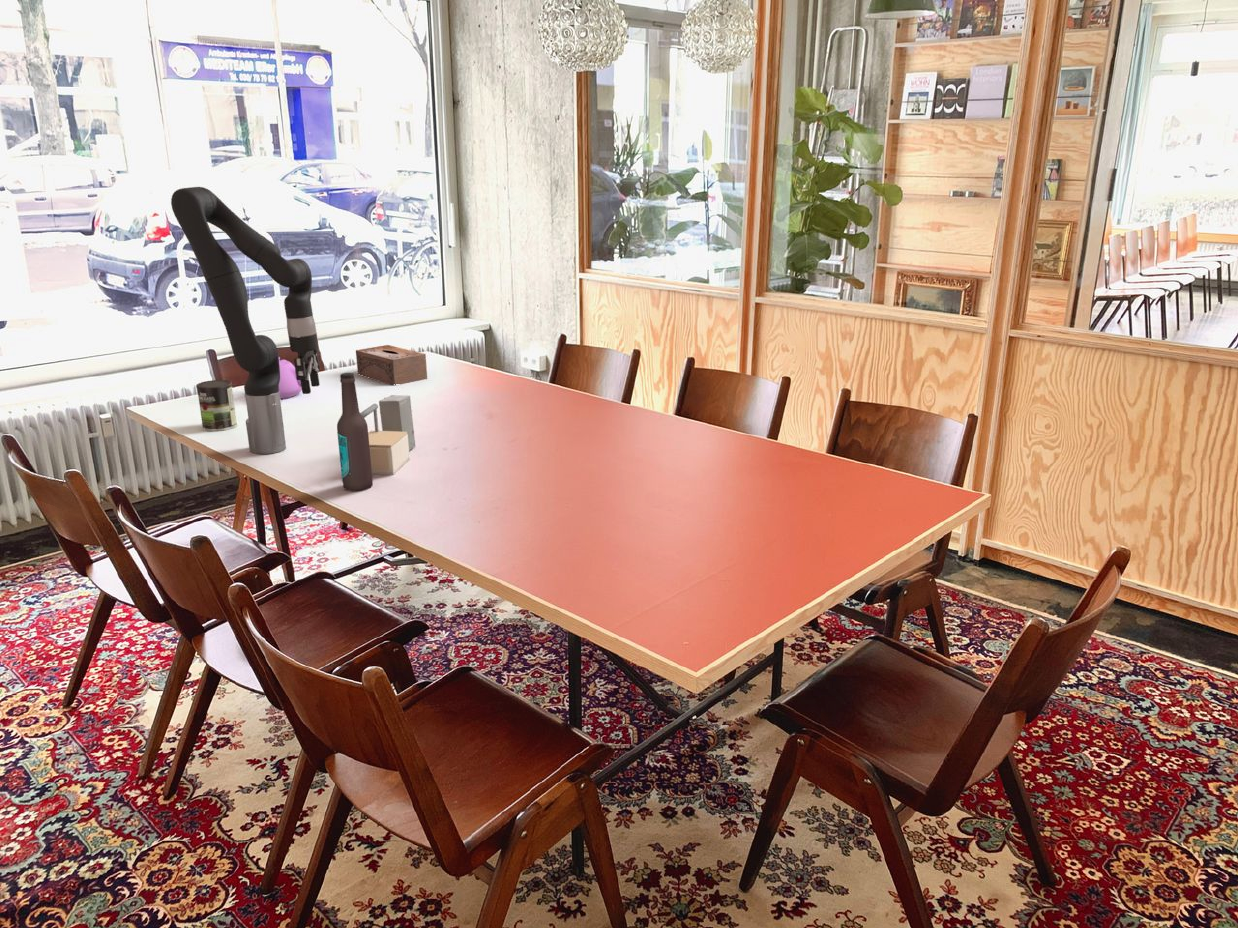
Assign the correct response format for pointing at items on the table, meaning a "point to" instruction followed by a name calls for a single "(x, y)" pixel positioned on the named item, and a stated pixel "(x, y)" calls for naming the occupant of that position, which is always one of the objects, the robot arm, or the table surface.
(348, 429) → the beer bottle
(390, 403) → the skincare box
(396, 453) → the carton
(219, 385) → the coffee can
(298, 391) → the teapot
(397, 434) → the flap
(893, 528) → the table surface
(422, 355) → the tissue box cover
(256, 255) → the robot arm
